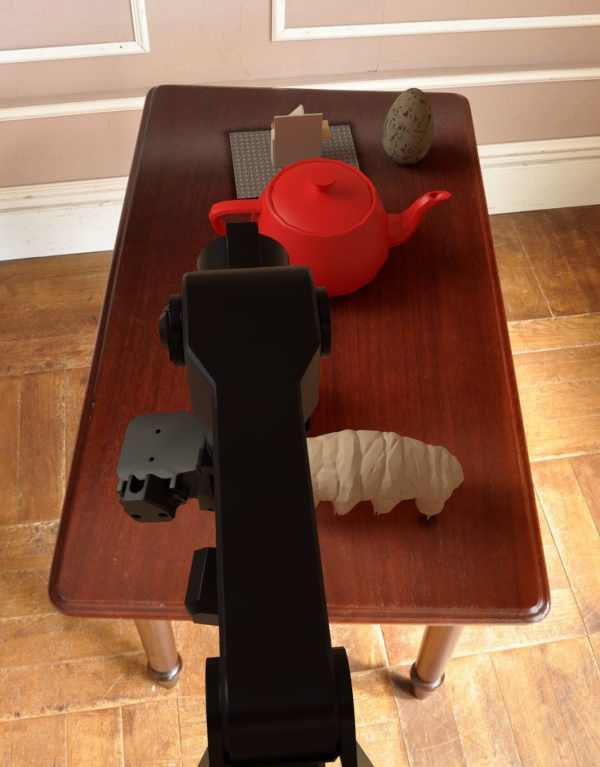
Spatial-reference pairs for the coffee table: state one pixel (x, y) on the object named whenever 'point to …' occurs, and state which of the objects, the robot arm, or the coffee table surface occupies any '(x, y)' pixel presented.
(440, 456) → the model
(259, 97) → the coffee table surface
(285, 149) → the napkin holder
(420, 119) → the decorative egg
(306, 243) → the teapot
